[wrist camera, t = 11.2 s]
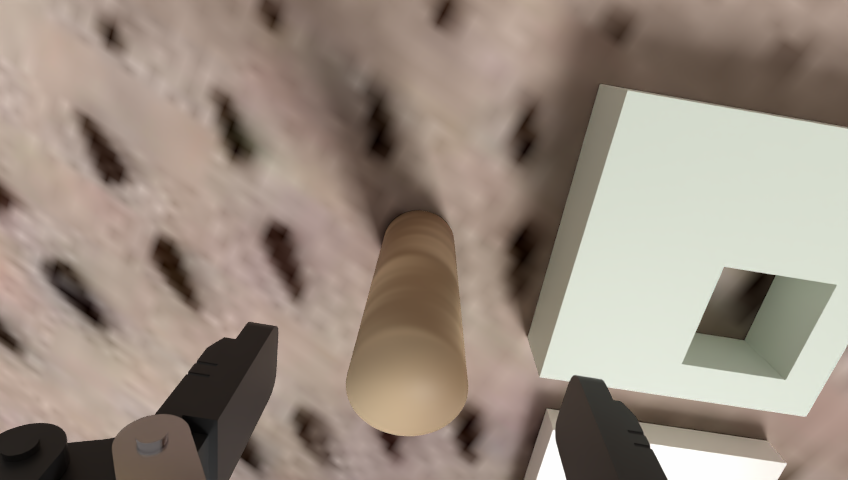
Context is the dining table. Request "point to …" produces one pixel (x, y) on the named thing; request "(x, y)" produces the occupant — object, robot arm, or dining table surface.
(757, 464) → the board
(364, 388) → the peg
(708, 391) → the peg board
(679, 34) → the dining table surface
